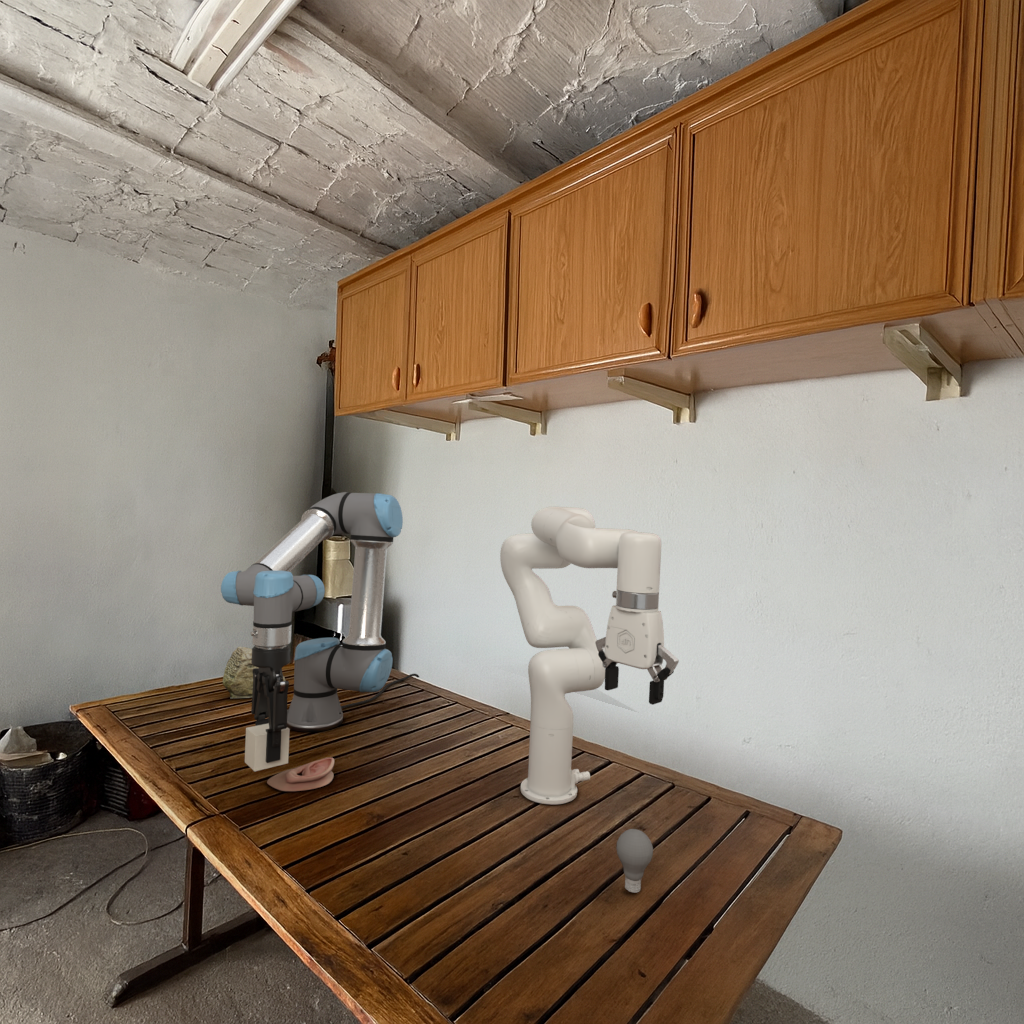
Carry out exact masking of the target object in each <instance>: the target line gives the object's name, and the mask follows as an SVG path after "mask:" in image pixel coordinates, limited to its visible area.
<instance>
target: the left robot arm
mask: <svg viewBox="0 0 1024 1024" xmlns="http://www.w3.org/2000/svg"><path fill="white" fill-rule="evenodd" d="M403 520H404V518H403V511H402V507H401V505H400V502H399V500H398V499H397V498H396V497H395V496H393V495H391V494H386V493H381V492H378V493H376V492H375V493H374V492H372V493H371V492H350V491H342V492H338V493H334V494H331V495H329V496H326V497H324V498H322V499H320V500H319V501H317V502H315V503H314V504H313V505H311V506H310V507H309V508H307V510H305V511H304V512H303V513H302V515H301V518H300V521H299V522H298V523H297V524H295V525H294V526H293V527H292V528H291V529H289V531H288V532H287V533H285V534H284V535H283V536H282V537H281V538H280V539H279V540H278V541H277V542H275V543H274V544H273V545H272V546H271V547H270V548H269V549H268V550H266V551H265V552H264V554H262V555H261V556H260V557H259V558H258V559H256V561H254V562H253V563H252V564H251V565H250V566H249V567H248V568H246V570H243V571H242V570H237V571H236V570H234V571H229V572H228V573H226V574H225V576H224V577H223V579H222V581H221V585H220V593H221V596H222V599H223V600H224V602H226V603H228V604H233V605H239V606H248V607H253V621H252V631H251V632H250V636H251V637H252V645H253V646H252V648H251V649H252V661H251V663H252V665H253V666H255V667H259V668H255V669H253V691H252V698H251V709H250V710H251V711H250V713H251V715H252V716H253V718H254V720H255V725H254V726H258V725H263V724H268V723H269V729H266V732H267V743H266V762H267V763H269V762H273V761H277V760H280V753H281V730H282V729H286V728H287V727H288V728H289V729H290V730H291V731H294V732H295V731H296V732H301V733H316V732H325V731H329V730H332V729H335V728H337V727H339V726H340V725H342V723H343V722H344V713H343V709H347V708H352V707H355V706H360V705H363V704H367V703H369V702H371V701H374V700H376V699H377V698H378V697H379V696H381V694H383V693H384V692H385V691H386V689H387V688H389V687H390V686H392V685H394V684H397V683H400V682H403V681H405V680H407V679H409V678H412V677H415V678H420V675H419V674H417V673H410V674H409V675H406V676H404V677H401V678H399V679H395V680H393V681H391V682H389V683H388V684H386V683H387V682H388V680H389V678H390V675H391V671H392V668H393V653H392V651H390V650H389V649H387V648H386V644H387V643H386V640H385V639H384V638H383V637H382V623H383V609H384V597H385V596H384V595H385V583H386V570H387V569H386V568H387V556H388V555H387V553H388V549H389V548H390V547H391V546H392V545H393V544H394V538H396V537H398V536H399V535H400V534H401V532H402V529H403V523H404V522H403ZM338 534H339V535H340V534H346V535H350V542H351V543H352V545H353V546H354V547H355V548H354V559H353V560H354V561H353V575H352V587H351V588H352V589H351V598H350V599H351V601H350V614H349V627H348V635H347V636H346V637H345V638H343V639H342V641H340V639H339V638H338V637H318V638H313V639H307V640H304V641H302V642H299V643H298V644H297V645H296V647H295V652H294V659H293V661H294V672H293V695H292V696H293V697H292V699H291V702H290V704H289V708H288V695H289V694H288V693H289V686H290V681H289V680H286V681H283V676H284V674H283V667H285V666H287V665H288V664H290V661H291V646H290V644H291V642H292V626H293V625H292V616H293V613H295V612H299V611H303V610H309V609H311V608H313V607H316V606H318V605H319V604H320V603H321V602H322V601H323V599H324V597H325V592H326V590H325V585H324V583H323V581H322V579H320V578H319V576H316V575H314V574H301V575H293V573H292V571H293V570H294V569H295V568H296V567H297V566H298V565H299V564H300V563H301V562H302V561H303V560H304V559H305V558H307V556H308V555H309V554H310V553H311V552H312V551H313V550H314V549H315V548H316V547H317V546H318V545H319V544H320V543H321V542H322V541H327V540H330V538H331V537H333V536H334V535H338ZM341 642H342V643H341ZM340 643H341V644H340ZM338 690H344V691H345V690H346V691H353V692H359V693H362V694H363V693H377V694H375V695H374V696H372V697H370V698H368V699H364V700H361V701H355V702H353V703H348V704H344V705H341V702H340V699H339V695H338ZM273 691H274V692H273Z"/></svg>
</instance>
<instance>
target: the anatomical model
mask: <svg viewBox="0 0 1024 1024" xmlns="http://www.w3.org/2000/svg"><path fill="white" fill-rule="evenodd" d="M334 766H335V758H333V757H324V758H321V759H317V760H313V761H311V762H308V763H306V764H303V765H300V766H297V767H294V768H290V769H286V770H283V771H281V772H278V773H276V774H274V775H273V776H271V777H269V778H268V779H267V781H266V784H267V785H268V786H270V787H272V788H273V789H275V790H278V791H281V792H300V791H301V792H302V791H309V790H314V789H318V788H321V787H324V786H327V785H329V784H330V783H331V782H332V781H333V779H334V777H335V776H334V772H333V771H332V770H333V769H334Z"/></svg>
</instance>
